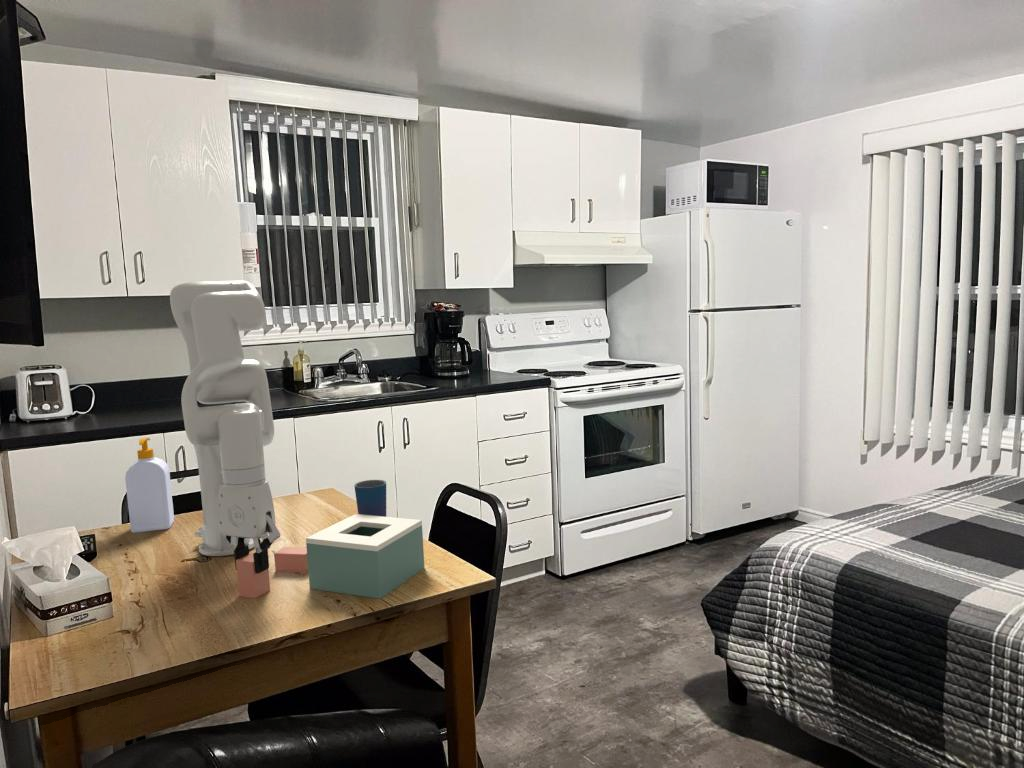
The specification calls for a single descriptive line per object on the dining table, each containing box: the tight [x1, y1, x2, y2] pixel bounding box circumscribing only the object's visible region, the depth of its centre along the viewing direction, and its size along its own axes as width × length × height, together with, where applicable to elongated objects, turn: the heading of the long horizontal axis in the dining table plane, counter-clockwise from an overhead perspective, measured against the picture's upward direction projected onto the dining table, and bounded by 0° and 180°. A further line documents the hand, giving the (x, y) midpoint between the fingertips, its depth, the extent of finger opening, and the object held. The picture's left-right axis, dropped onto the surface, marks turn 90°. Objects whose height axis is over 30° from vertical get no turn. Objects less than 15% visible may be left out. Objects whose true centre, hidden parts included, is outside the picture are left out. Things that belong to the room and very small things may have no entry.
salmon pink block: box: [235, 552, 271, 599], centre depth 140 cm, size 4×4×7 cm
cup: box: [354, 479, 387, 517], centre depth 160 cm, size 7×7×15 cm
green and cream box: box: [305, 513, 426, 600], centre depth 144 cm, size 16×16×10 cm
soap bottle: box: [124, 437, 175, 534], centre depth 184 cm, size 9×7×23 cm
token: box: [273, 546, 309, 574], centre depth 152 cm, size 7×4×4 cm, turn 77°
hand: (252, 568), depth 139 cm, fingers closed on salmon pink block, 4 cm apart
